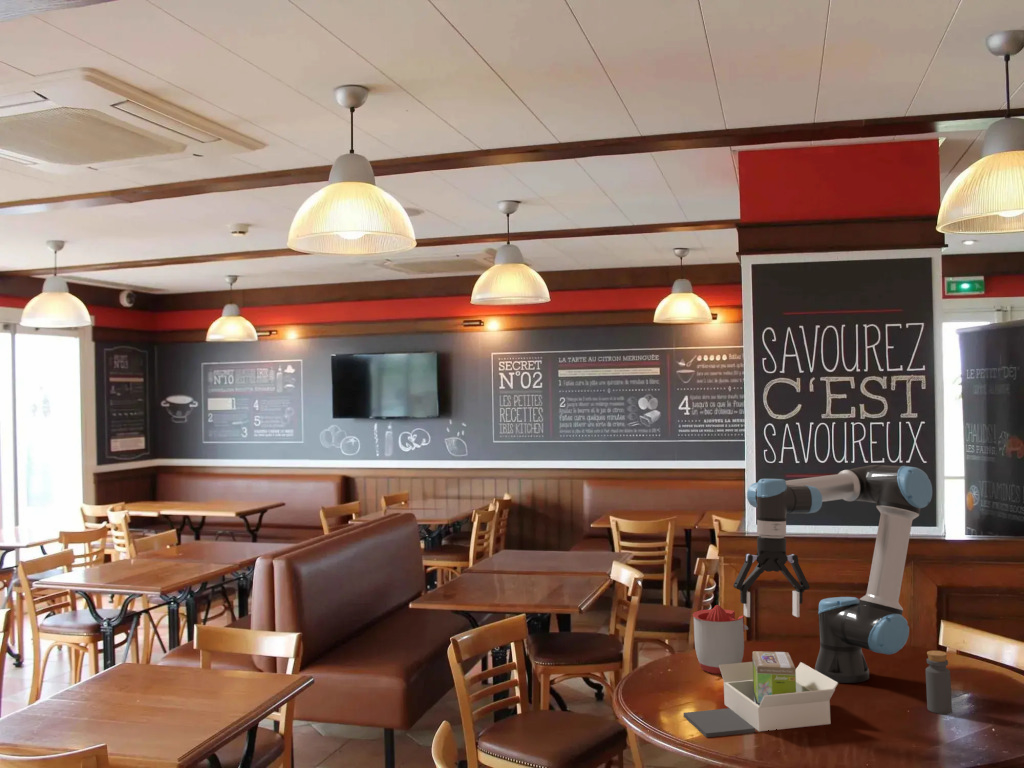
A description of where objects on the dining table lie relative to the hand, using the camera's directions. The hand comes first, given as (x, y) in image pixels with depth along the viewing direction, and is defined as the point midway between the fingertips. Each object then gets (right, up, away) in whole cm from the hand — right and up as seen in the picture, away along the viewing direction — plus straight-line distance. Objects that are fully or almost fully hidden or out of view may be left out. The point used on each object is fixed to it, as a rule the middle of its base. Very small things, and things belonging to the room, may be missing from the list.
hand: (771, 616), depth 227 cm
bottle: (+43, -24, -4) cm, 50 cm away
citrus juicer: (-4, -27, +37) cm, 46 cm away
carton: (+2, -25, -2) cm, 25 cm away
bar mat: (-16, -26, -8) cm, 32 cm away
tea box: (0, -26, -3) cm, 26 cm away
